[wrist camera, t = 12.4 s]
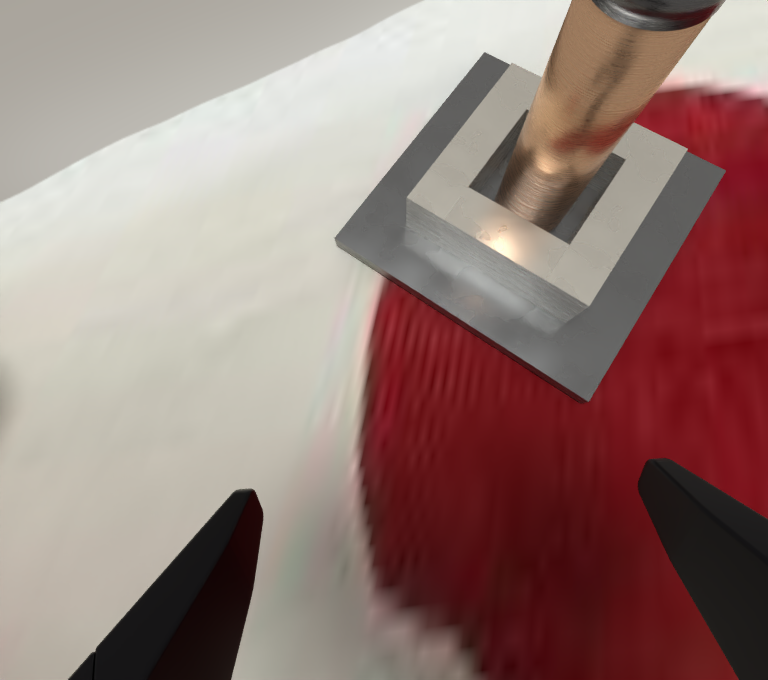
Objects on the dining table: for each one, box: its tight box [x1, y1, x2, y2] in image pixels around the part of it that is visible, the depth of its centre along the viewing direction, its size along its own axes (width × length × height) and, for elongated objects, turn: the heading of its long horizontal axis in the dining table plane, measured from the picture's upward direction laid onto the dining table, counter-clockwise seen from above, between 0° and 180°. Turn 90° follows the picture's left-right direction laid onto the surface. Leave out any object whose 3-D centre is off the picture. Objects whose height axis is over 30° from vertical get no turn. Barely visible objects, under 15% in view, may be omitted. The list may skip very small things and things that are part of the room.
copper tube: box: [495, 0, 725, 232], centre depth 18 cm, size 4×4×14 cm
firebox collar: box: [335, 52, 726, 403], centre depth 24 cm, size 18×18×4 cm
